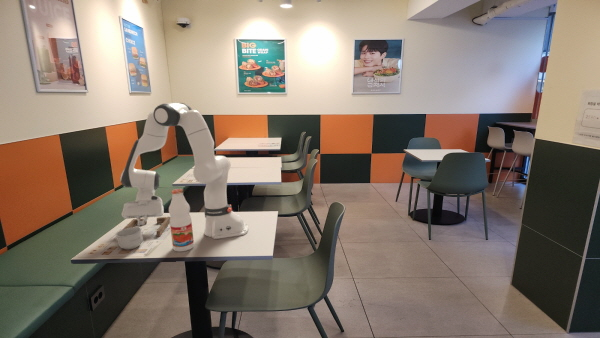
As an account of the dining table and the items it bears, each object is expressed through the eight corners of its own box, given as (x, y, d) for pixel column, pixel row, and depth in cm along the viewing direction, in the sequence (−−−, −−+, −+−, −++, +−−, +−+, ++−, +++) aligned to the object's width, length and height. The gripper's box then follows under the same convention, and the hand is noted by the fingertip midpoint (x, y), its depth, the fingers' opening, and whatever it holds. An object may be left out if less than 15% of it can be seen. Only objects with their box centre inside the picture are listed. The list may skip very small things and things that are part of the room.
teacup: (133, 252, 151) (130, 236, 150) (112, 251, 154) (110, 235, 152) (152, 239, 165) (150, 224, 163) (133, 238, 167) (130, 223, 165)
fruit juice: (192, 241, 161) (186, 186, 155) (196, 249, 153) (189, 191, 147) (171, 245, 157) (164, 189, 151) (174, 253, 149) (167, 194, 143)
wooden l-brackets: (170, 221, 188) (170, 216, 187) (160, 236, 168) (159, 230, 168) (134, 224, 186) (133, 219, 185) (119, 239, 166) (118, 233, 166)
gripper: (122, 199, 173) (117, 223, 166) (162, 196, 176) (159, 220, 168) (126, 204, 179) (122, 228, 171) (165, 202, 181) (163, 225, 174)
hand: (140, 224), depth 170 cm, fingers closed
